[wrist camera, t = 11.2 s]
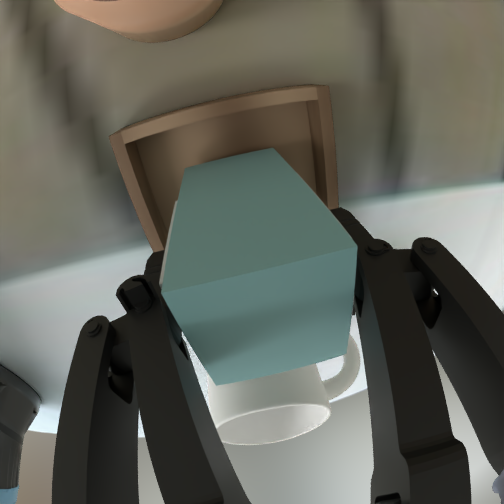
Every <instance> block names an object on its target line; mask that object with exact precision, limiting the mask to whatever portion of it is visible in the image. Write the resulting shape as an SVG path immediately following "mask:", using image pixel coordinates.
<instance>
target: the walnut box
mask: <svg viewBox="0 0 504 504" xmlns="http://www.w3.org/2000/svg"><path fill="white" fill-rule="evenodd" d="M109 139H110V142H111V145H112V148H113V151H114V154H115V157H116V160H117V163H118V166H119V169H120V171H121V174H122V177H123V179H124V182H125V185H126V187H127V190H128V193H129V195H130V198H131V200H132V203H133V205H134V208H135V210H136V213H137V215H138V218H139V220H140V222H141V225H142V227H143V230H144V232H145V234H146V236H147V239H148V241H149V243H150V246H151V248H152V250H153V252H157V251H161V250H165V248H166V243H167V238H168V233H169V228H170V223H171V219H172V214H173V210H174V205H175V201H177V200H178V197H179V192H180V188H181V183H182V179H183V175H184V171H185V168H187V167H191V166H195V165H198V164H202V163H206V162H210V161H214V160H218V159H222V158H227V157H231V156H235V155H240V154H244V153H249V152H253V151H258V150H263V149H268V148H274V149H275V150H276V151H277V152H278V153H279V154H280V155H281V157H282V158H283V159H284V160H285V161H286V162H287V163H288V164H289V165H290V166H291V167H292V168H293V170H294V171H295V172H296V173H298V174H299V176H300V177H301V178H302V179H303V180H304V181H305V182H306V183H307V185H308V186H309V187H310V188H311V189H312V190H313V191H314V193H315V194H316V195H317V196H318V197H319V198H320V200H321V201H322V202H323V203H324V204H325V206H326V207H327V208H328V209H329V210H331V209H336V208H339V204H338V180H337V163H336V149H335V137H334V127H333V117H332V108H331V100H330V92H329V86H325V85H313V84H311V85H301V86H292V87H284V88H276V89H269V90H263V91H257V92H251V93H246V94H240V95H235V96H230V97H226V98H221V99H217V100H212V101H208V102H204V103H200V104H196V105H193V106H189V107H185V108H182V109H178V110H175V111H171V112H168V113H165V114H162V115H158V116H155V117H152V118H149V119H146V120H143V121H141V122H138V123H135V124H132V125H130V126H127V127H124V128H122V129H120V130H118V131H117V132H115V133H113V134H112V135H110V136H109Z"/></svg>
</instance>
